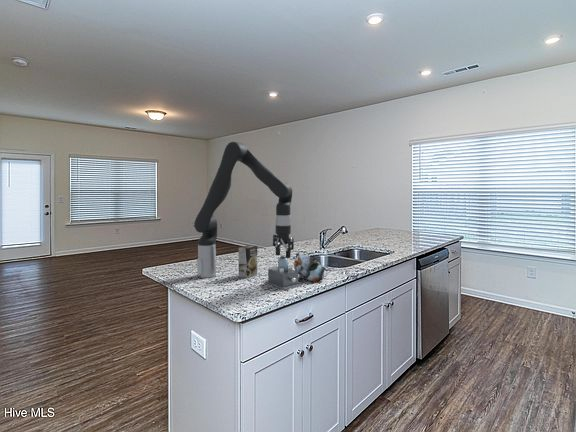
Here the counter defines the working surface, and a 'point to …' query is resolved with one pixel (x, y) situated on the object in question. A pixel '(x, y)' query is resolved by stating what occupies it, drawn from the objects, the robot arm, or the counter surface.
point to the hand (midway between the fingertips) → (282, 256)
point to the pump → (283, 263)
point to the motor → (283, 278)
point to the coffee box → (247, 261)
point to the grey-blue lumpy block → (308, 268)
